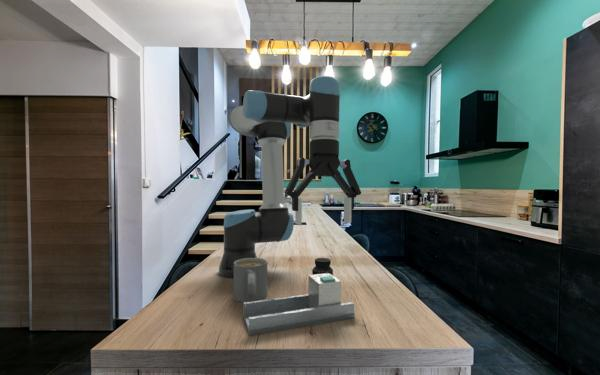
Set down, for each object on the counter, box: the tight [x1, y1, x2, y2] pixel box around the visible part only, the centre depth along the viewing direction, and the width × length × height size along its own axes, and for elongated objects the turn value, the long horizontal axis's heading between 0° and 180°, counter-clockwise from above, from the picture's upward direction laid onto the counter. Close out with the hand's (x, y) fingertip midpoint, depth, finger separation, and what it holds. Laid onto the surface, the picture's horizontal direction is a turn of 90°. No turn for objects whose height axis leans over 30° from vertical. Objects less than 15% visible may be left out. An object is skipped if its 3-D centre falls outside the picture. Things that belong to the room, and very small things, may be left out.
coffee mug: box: [233, 257, 268, 303], centre depth 83 cm, size 13×10×10 cm
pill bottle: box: [311, 257, 334, 276], centre depth 84 cm, size 6×6×11 cm
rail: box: [242, 273, 355, 337], centre depth 71 cm, size 10×26×10 cm, turn 109°
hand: (323, 223), depth 72 cm, fingers open, 13 cm apart
